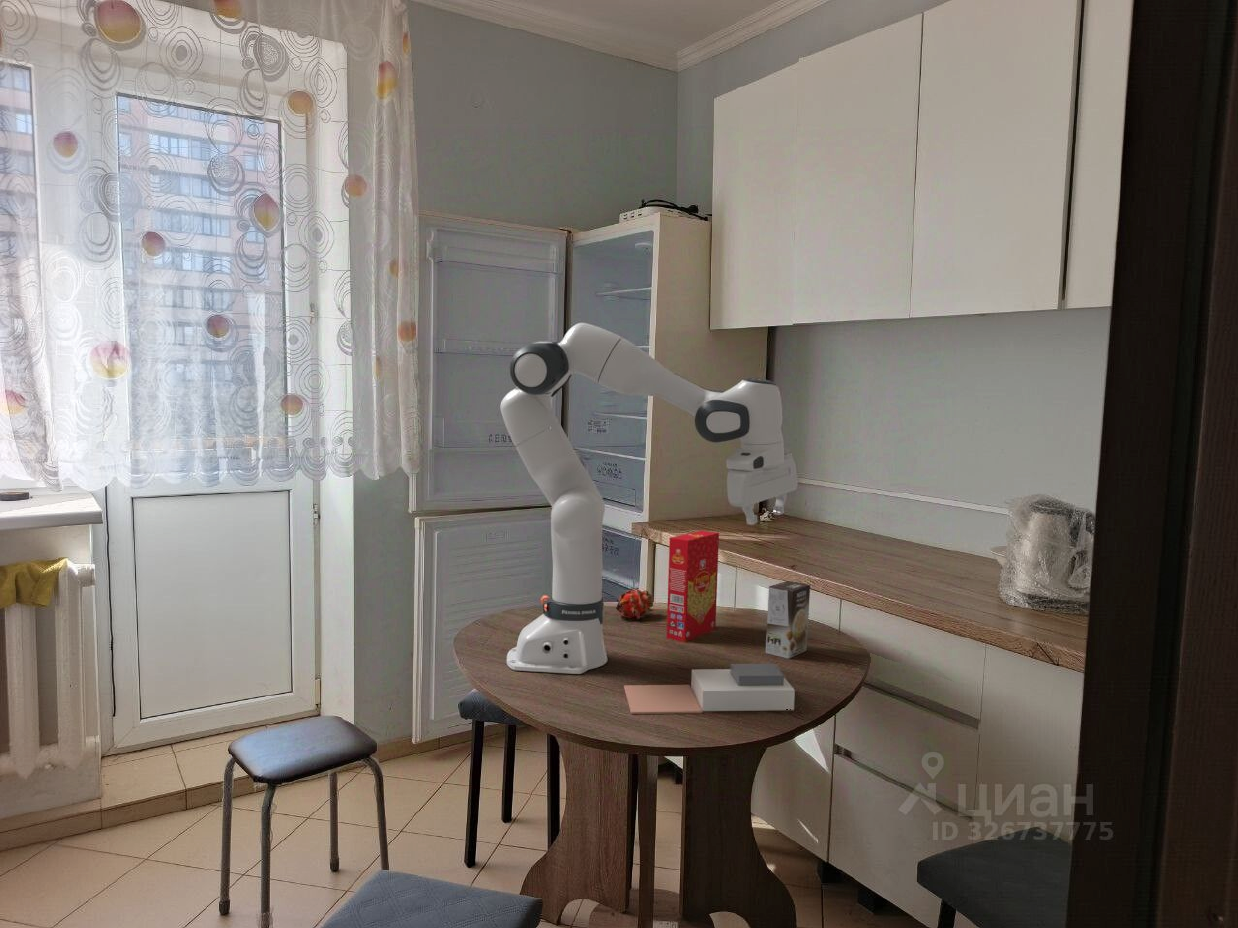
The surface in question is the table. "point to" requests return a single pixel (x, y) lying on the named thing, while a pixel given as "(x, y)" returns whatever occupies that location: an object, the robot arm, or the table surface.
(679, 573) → the food packaging
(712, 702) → the block
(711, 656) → the table surface
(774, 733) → the table surface
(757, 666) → the gray flat block
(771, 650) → the coffee box
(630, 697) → the mat
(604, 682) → the table surface
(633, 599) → the dragon fruit
